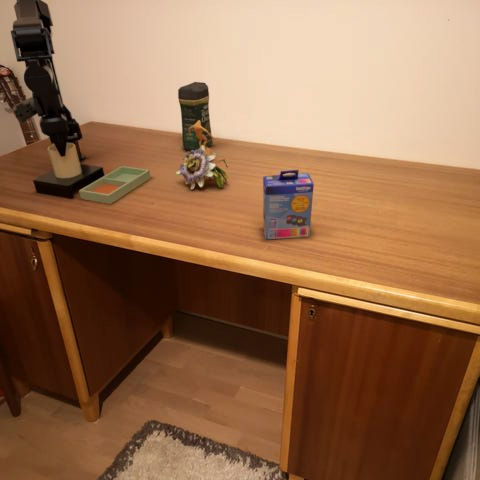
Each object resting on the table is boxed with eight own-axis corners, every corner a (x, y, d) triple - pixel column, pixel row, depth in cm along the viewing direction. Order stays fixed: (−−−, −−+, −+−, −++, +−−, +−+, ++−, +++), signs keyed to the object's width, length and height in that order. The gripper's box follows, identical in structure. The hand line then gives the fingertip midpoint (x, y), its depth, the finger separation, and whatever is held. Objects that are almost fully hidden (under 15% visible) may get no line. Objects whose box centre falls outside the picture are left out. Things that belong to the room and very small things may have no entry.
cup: (67, 167, 128) (60, 141, 123) (86, 170, 125) (80, 144, 121) (49, 176, 123) (41, 149, 119) (69, 179, 121) (62, 152, 116)
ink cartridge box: (265, 241, 98) (264, 174, 89) (262, 229, 102) (261, 164, 93) (311, 237, 98) (315, 170, 89) (306, 225, 103) (309, 160, 94)
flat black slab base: (72, 174, 133) (68, 162, 131) (105, 179, 129) (102, 166, 127) (36, 192, 123) (32, 180, 121) (71, 199, 119) (68, 186, 117)
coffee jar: (201, 153, 142) (195, 87, 131) (179, 150, 145) (172, 86, 134) (216, 144, 149) (212, 80, 138) (195, 141, 152) (190, 79, 141)
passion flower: (195, 208, 124) (165, 172, 119) (213, 186, 131) (184, 151, 126) (223, 192, 117) (192, 153, 112) (240, 169, 123) (211, 131, 118)
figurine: (221, 160, 137) (218, 118, 130) (210, 167, 133) (206, 124, 126) (198, 156, 141) (194, 115, 133) (186, 163, 137) (182, 120, 129)
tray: (123, 173, 132) (121, 165, 130) (150, 178, 129) (149, 169, 127) (81, 199, 119) (78, 190, 118) (110, 204, 116) (108, 195, 114)
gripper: (9, 81, 116) (29, 144, 125) (7, 97, 102) (29, 167, 112) (55, 76, 118) (71, 138, 128) (59, 91, 105) (77, 160, 114)
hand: (62, 150), depth 120 cm, fingers open, 9 cm apart
